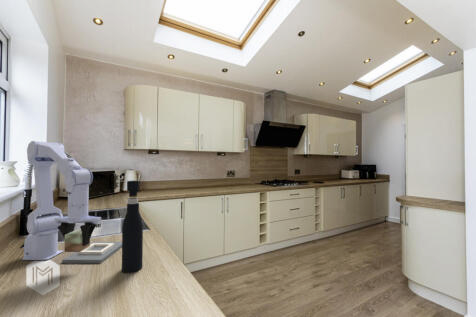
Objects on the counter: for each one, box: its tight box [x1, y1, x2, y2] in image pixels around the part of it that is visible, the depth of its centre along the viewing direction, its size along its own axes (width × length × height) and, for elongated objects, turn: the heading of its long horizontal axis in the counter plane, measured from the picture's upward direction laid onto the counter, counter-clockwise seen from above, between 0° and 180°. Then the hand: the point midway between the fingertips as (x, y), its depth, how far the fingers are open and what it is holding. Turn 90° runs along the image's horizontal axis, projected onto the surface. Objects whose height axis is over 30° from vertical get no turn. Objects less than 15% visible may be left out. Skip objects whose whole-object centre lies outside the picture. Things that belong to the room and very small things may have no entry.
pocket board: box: [61, 241, 122, 264], centre depth 89 cm, size 14×18×2 cm
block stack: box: [64, 229, 91, 253], centre depth 75 cm, size 5×5×6 cm
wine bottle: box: [121, 180, 144, 274], centre depth 76 cm, size 6×6×30 cm
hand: (77, 244), depth 75 cm, fingers closed on block stack, 5 cm apart
